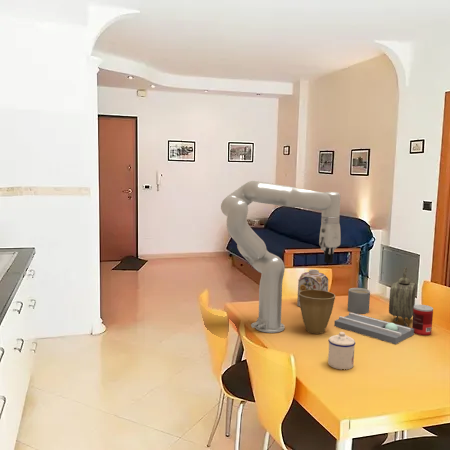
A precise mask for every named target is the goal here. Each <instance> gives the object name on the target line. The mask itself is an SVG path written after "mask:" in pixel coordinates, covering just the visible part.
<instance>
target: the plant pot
mask: <svg viewBox="0 0 450 450" xmlns="http://www.w3.org/2000/svg"><path fill="white" fill-rule="evenodd" d="M299 300H300V306H299V307H300V311H301V312H300V313H301V318H302V321H303V324H304V328H305V331H306V332H308V333H309V334H310V333H311V334H317V335H320V334H324V332H325V331H326V328H327V326H328V324H329V322H330V318H331V315H332V312H333V308H334V304H335V300H336V294H335V293H333V292H330V291H329V290H328V291H322V290H303V291H300V292H299Z"/></svg>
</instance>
